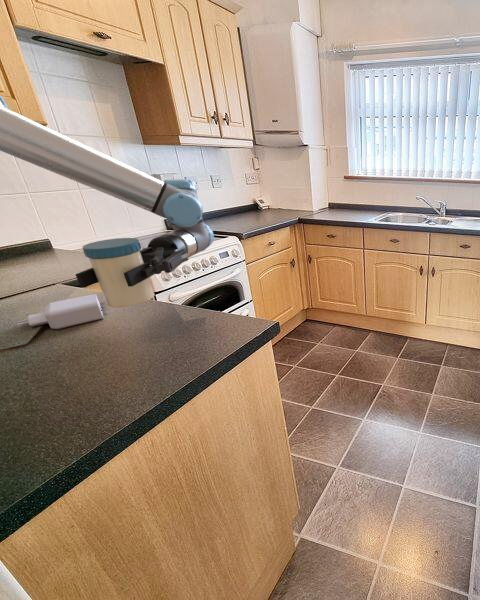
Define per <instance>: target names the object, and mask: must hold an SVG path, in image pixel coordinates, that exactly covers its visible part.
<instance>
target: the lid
mask: <svg viewBox="0 0 480 600" xmlns="http://www.w3.org/2000/svg"><path fill="white" fill-rule="evenodd" d="M81 247H82V252H83V253H84V256H85V257H86V258H88V259H89V258H109V257H116V256H122V255H127V254H131V253H134V252H137V251H139V250H142V245H141V242H140V241H139V239H138V238H136V237H118V238H110V239H103V240H96V241H93V242H89V243H87V244H84V245H82V246H81Z"/></svg>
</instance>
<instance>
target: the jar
mask: <svg viewBox="0 0 480 600" xmlns="http://www.w3.org/2000/svg"><path fill="white" fill-rule="evenodd" d="M140 250H141V249H140ZM140 250H139V251H137V252H134V253H131V254H127V255H122V256H116V257H109V258H88V259H89V262H90V265H91V268H92V267H93V270H94V272H95V275H96V277H97V280H98V282H97V283H98V285H99V287H100V289H101V293H102V295H103V298H104V300H105V302H106V304H107V306H108V307H110V308H124V307H132V306H136V305H139V304H143V303H145V302H148V301H150V300H151V299H153V298H154V297H155V295H156V294H155V292H154V288H153V285H152V283H151V279H150V277H149V278H147V279H145V280H143V281H141V282H140V283H138V284H136V285H134V286H130V287H128V284H127V282H126V279H125V276H124V273H125V272H127V271H129V270H131V269H133V268H136V267H138V266H140V265H142V264H144V261H143V258H142V255H141V252H140Z"/></svg>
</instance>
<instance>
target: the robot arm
mask: <svg viewBox="0 0 480 600" xmlns="http://www.w3.org/2000/svg"><path fill="white" fill-rule="evenodd" d="M0 152H3V153H5V154H7V155H10V156H12V157H15V158H17V159H20V160H22V161H24V162H27V163H30V164H32V165H34V166H37V167H38V168H42V169H44V170H47V171H49V172H51V173H54V174H57V175H59V176H61V177H64V178H66V179H69V180H71V181H74V182H77V183H79V184H81V185H83V186H86V187H89V188H91V189H94V190H96V191H99V192H100V193H104V194H105V195H108V196H111V197H113V198H115V199H118V200H121V201H123V202H125V203H128V204H131V205H132V206H135V207H138V208H140V209H142V210H145V211H148V212H150V213H152V214H154V215H157V216H158V217H161V218H164V219H166V220H167V221H169V222H170V223H171V226H172V229H173V230H171V231H169V232H166V233H164V234H161V235H159V236H157V237H154V238H152V239H151V240H150V241H149V243H148V244H147V247H144V248H141V249H140V252H141V255H142V258H143V261H144V264H142V265H140V266H138V267H136V268H133V269H131V270H129V271H127V272H125V273H124V276H125V279H126V282H127V284H128V287H130V286H134V285H136V284H138V283H140V282H141V281H143V280H145V279H147V278H149V279H150V277H152V276H154V275H160V274H162V272H164V273H165V274H170V273H172V272H173V271H175V270H176V269H177V268H178V267H179V266H180V265H182V264H183V263H185V262H187V261H189V258H191V257H193V256H196V255H197V254H198V253H201V252H204V251H205V250H206V249H208V248H209V247H210V246H212V244H213V242H214V240H215V235H214V231H213V230H212V229H211V228H210V226H209V225H208V224H206V223H205V220H204V218H203V212H204V210H203V206H202V203H201V201H200V200H199V197H198V190H197V188H196V186H195V182H194V181H193V180H191V179H187V178H183V179H181V178H179V179H178V178H177V179H166V180H161V179H158V178H156V177H154V176H152V175H150V174H148V173H146V172H144V171H141V170H139V169H137V168H135V167H133V166H130V165H128V164H126V163H124V162H122V161H120V160H118V159H116V158H114V157H111V156H110V155H107V154H106V153H103V152H101V151H99V150H97V149H95V148H93V147H90V146H88V145H86V144H84V143H82V142H80V141H78V140H76V139H73V138H71V137H69V136H67V135H65V134H62V133H60V132H58V131H56V130H53V129H52V128H50V127H47V126H45V125H44V124H41V123H39V122H37V121H35V120H33V119H31V118H29V117H26V116H24V115H22V114H20V113H18V112H15V111H14V110H11V109H9V106H8V104H7V102H6V101H5V99H4V98H3V96H2V95H1V94H0ZM74 275H75V277H76V279H77V282H78V284H79V287H80V288H81V289H83V288H87V287H90V286H92V285H94V284H96V283H99V282H98V280H97V277H96V275H95V272H94V270H93V267H92V266H91V267H90V268H87V269H85V270H82V271H80V272H77V273H75V274H74Z"/></svg>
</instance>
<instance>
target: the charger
mask: <svg viewBox="0 0 480 600" xmlns="http://www.w3.org/2000/svg"><path fill="white" fill-rule="evenodd" d="M101 310H102V311H101ZM104 318H105V317H104V313H103V309H102V305H101V303H100V301H99V298H98V296H97V293H93V294H88V295H83V296H78V297H73V298H68V299H63V300H58V301H54V302H49V303H48V304H47V305H46V306H45V309H44V311H43V312H38V313H33V314H28V316H27V318H25V319H22V320H18V321H17V323H16V326H22V325H26V324H28V325H29V327H31V328H33V327H38V326H42V325H46V324H48V325H49V327H50V329H52V330H60V329H65V328H69V327H73V326H76V325H81V324H87V323H89V322H90V323H91V322H94V321H99V320H102V319H104Z"/></svg>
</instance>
